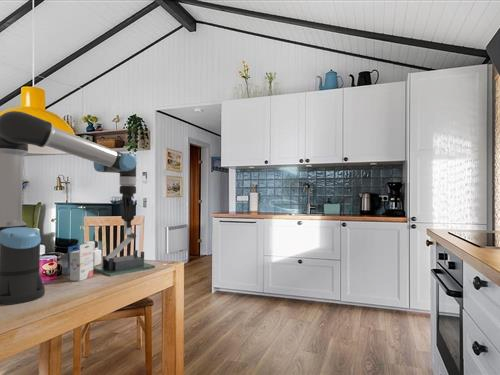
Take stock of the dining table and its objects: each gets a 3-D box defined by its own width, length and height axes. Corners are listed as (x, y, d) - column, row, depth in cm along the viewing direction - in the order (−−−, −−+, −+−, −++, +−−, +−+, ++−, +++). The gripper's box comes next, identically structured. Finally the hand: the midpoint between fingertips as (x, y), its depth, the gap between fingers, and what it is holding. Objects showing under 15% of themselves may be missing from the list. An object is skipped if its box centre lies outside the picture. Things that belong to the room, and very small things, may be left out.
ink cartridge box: (83, 275, 142) (84, 241, 143) (93, 276, 141) (94, 242, 142) (68, 280, 134) (69, 244, 134) (79, 281, 133) (80, 245, 133)
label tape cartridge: (73, 270, 153) (74, 243, 153) (81, 270, 153) (81, 243, 153) (59, 274, 144) (60, 246, 145) (67, 274, 144) (68, 246, 144)
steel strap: (109, 262, 149) (107, 258, 148) (105, 260, 152) (102, 257, 151) (136, 236, 159) (134, 233, 158) (132, 235, 162) (129, 232, 161)
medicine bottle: (87, 263, 168) (88, 240, 169) (101, 263, 168) (101, 240, 169) (80, 266, 161) (80, 241, 162) (94, 266, 161) (94, 242, 161)
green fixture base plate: (110, 276, 142) (110, 258, 142) (92, 269, 154) (93, 253, 154) (155, 268, 158) (155, 252, 158) (136, 262, 170) (136, 248, 170)
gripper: (142, 185, 156) (141, 234, 156) (128, 186, 165) (128, 232, 164) (127, 185, 151) (126, 236, 150) (114, 185, 159) (113, 234, 159)
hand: (127, 234), depth 157 cm, fingers closed
